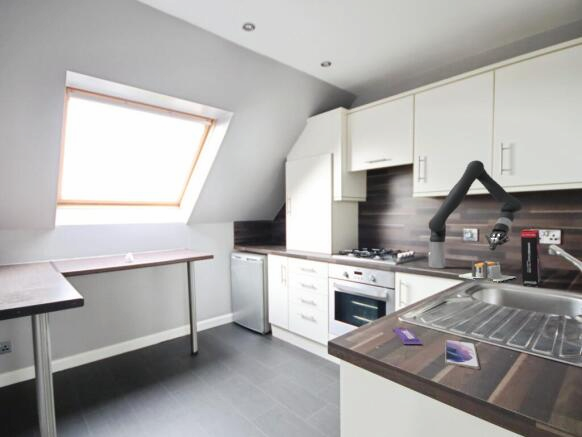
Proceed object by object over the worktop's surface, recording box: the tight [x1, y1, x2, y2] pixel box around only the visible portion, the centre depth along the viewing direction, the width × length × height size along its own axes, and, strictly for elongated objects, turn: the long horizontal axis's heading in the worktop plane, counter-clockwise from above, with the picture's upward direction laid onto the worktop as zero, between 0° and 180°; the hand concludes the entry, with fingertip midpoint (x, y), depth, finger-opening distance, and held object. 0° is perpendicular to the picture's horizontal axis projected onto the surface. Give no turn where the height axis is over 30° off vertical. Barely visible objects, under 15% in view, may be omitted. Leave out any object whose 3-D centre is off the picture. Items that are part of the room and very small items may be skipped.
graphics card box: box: [520, 228, 542, 287], centre depth 155 cm, size 17×7×27 cm, turn 138°
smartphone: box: [444, 339, 481, 371], centre depth 78 cm, size 7×1×15 cm
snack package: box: [392, 327, 423, 345], centre depth 89 cm, size 12×2×5 cm
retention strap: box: [475, 261, 497, 267], centre depth 171 cm, size 4×1×16 cm
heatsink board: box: [458, 260, 517, 282], centre depth 171 cm, size 20×20×10 cm
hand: (491, 249), depth 174 cm, fingers closed
